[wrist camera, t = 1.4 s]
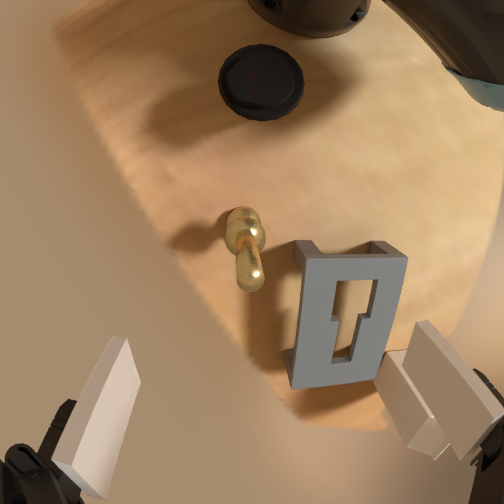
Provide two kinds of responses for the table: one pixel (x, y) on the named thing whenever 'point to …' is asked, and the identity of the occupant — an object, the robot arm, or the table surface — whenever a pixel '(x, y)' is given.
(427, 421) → the milk carton
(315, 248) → the keyhole plate
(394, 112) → the table surface
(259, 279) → the brass t bolt
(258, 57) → the coffee cup
